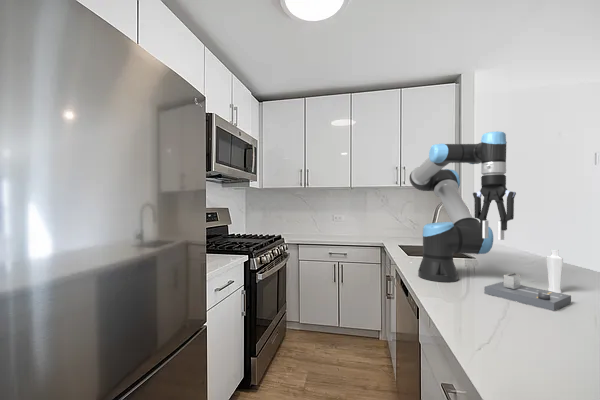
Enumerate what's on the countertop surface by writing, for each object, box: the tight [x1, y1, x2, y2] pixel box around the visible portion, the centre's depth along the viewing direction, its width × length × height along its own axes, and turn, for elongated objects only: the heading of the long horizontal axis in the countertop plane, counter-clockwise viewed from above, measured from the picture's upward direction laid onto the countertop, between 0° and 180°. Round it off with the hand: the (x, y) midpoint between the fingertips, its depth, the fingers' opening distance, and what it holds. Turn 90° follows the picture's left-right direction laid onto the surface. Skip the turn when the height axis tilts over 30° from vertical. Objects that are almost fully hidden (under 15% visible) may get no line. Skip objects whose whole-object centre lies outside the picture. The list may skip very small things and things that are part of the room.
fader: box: [503, 272, 521, 289], centre depth 99 cm, size 3×5×4 cm, turn 121°
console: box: [483, 281, 572, 312], centre depth 96 cm, size 19×14×4 cm
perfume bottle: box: [546, 249, 564, 294], centre depth 104 cm, size 5×4×15 cm
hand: (493, 238), depth 105 cm, fingers open, 4 cm apart
